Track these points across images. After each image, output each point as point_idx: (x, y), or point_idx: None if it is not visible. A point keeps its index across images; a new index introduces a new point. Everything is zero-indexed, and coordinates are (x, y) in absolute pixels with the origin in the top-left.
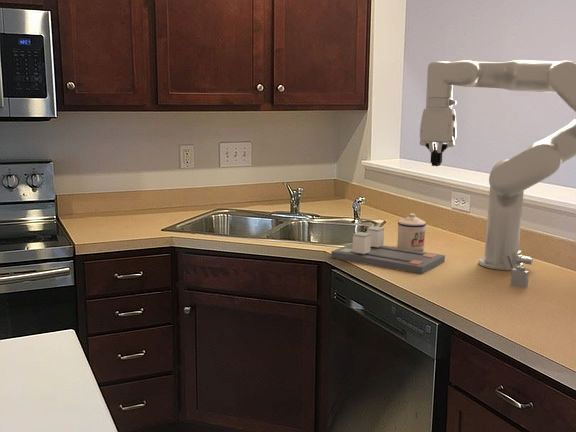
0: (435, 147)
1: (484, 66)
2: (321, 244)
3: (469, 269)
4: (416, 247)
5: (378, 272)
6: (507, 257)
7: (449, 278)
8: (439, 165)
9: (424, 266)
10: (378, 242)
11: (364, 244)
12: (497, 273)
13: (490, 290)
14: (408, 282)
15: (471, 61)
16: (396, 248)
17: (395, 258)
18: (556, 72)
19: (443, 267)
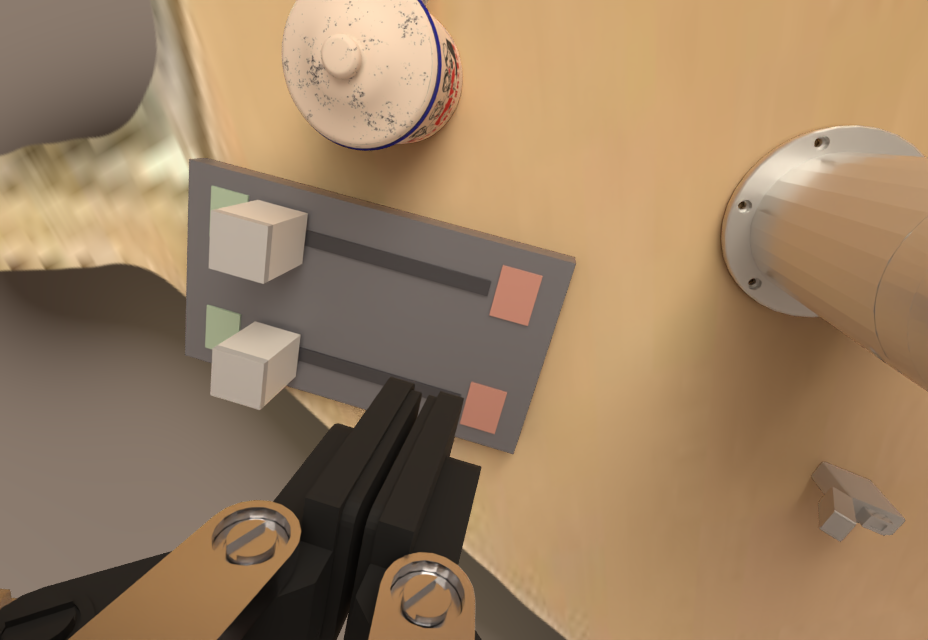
0: (242, 628)
1: None
2: (77, 170)
3: (675, 334)
4: (434, 131)
5: None
6: (844, 514)
7: (605, 460)
8: (456, 425)
9: (517, 440)
10: (293, 263)
11: (277, 392)
12: (784, 354)
13: (733, 540)
14: (490, 525)
15: None
16: (366, 222)
17: None
18: None
19: (576, 339)
